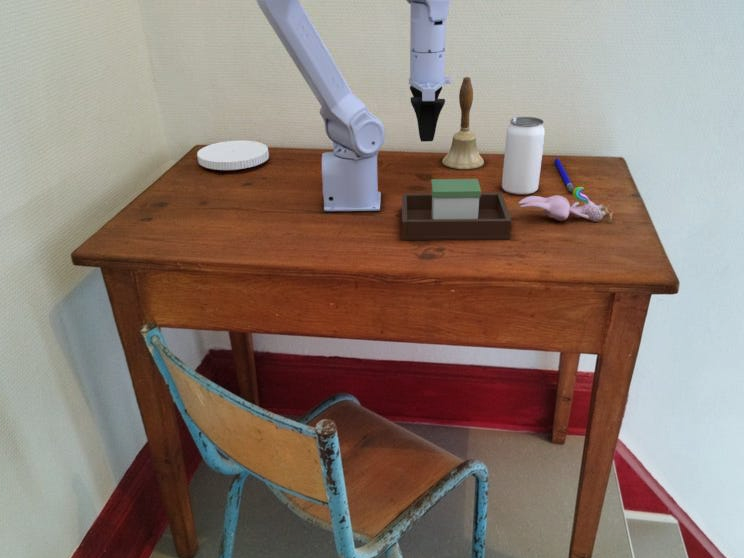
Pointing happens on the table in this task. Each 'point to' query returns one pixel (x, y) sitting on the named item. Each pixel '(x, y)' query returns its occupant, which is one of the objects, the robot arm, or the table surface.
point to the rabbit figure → (567, 206)
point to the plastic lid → (233, 155)
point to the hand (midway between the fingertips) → (426, 134)
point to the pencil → (564, 175)
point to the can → (523, 155)
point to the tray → (455, 220)
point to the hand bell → (464, 135)
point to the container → (455, 198)
